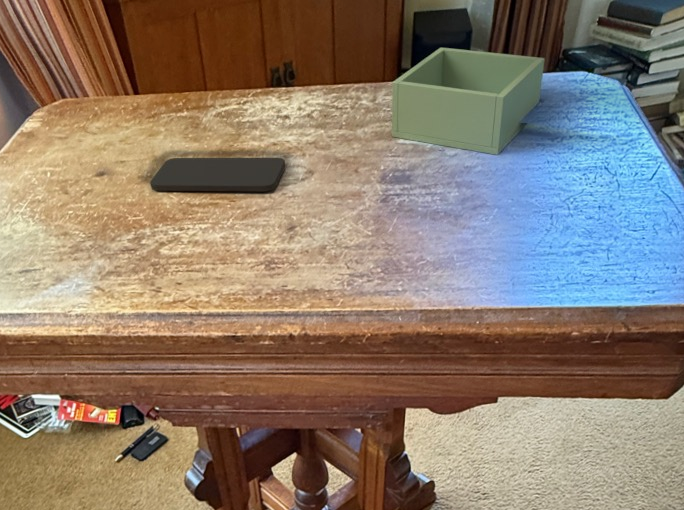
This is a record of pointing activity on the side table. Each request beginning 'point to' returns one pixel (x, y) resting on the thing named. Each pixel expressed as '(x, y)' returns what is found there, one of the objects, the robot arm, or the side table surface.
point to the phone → (218, 174)
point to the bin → (466, 99)
